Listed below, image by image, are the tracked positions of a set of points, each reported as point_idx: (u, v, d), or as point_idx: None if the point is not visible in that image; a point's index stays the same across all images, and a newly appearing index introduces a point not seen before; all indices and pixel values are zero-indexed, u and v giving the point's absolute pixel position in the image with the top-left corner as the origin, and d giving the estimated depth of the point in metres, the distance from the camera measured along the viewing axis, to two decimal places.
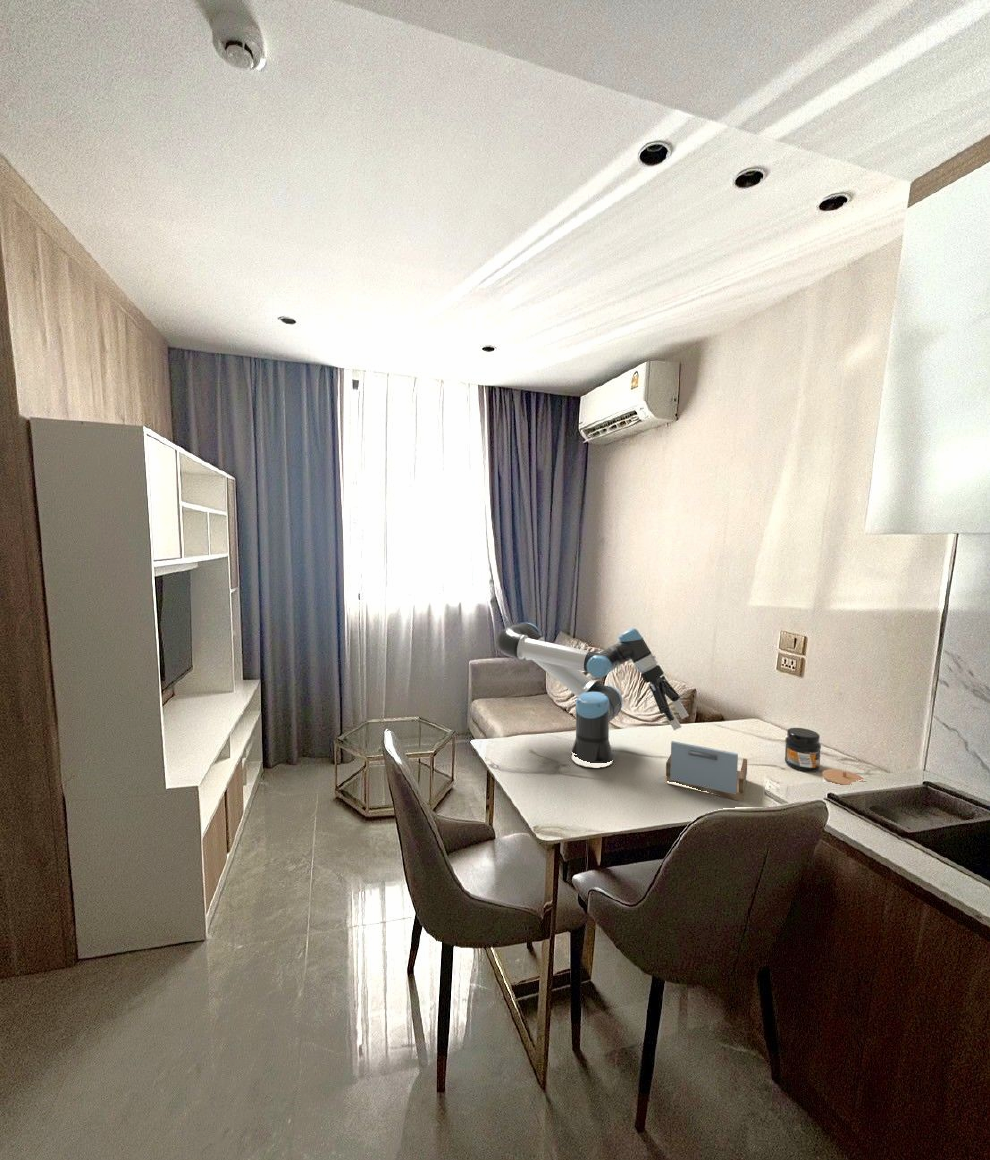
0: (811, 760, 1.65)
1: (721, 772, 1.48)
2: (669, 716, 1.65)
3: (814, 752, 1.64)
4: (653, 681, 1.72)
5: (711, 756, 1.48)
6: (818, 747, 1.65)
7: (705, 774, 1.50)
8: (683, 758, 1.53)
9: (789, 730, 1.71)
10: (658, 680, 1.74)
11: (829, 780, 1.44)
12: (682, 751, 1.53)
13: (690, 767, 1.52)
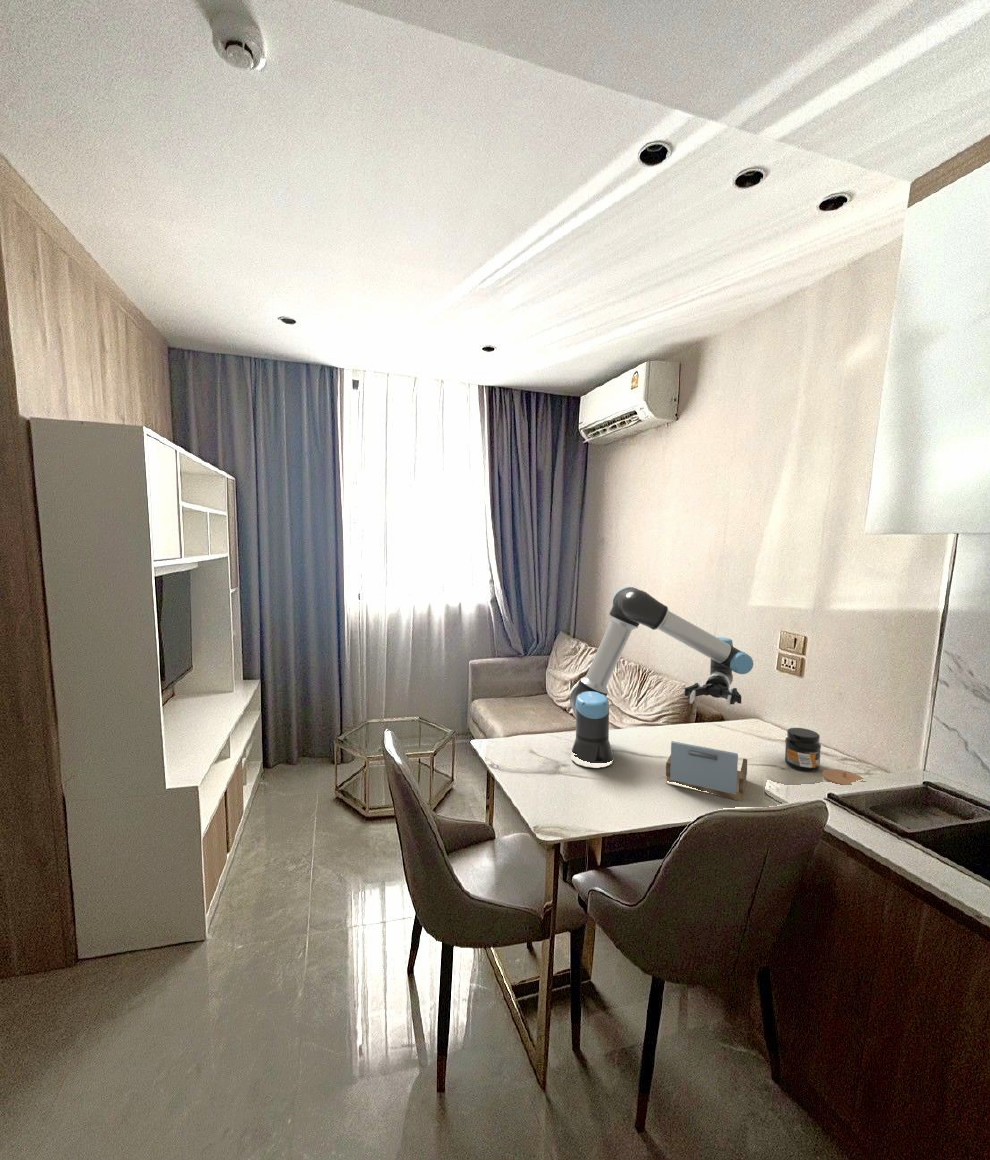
0: (811, 760, 1.65)
1: (721, 772, 1.48)
2: (734, 701, 1.59)
3: (814, 752, 1.64)
4: None
5: (711, 756, 1.48)
6: (818, 747, 1.65)
7: (705, 774, 1.50)
8: (683, 758, 1.53)
9: (789, 730, 1.71)
10: None
11: (829, 780, 1.44)
12: (682, 751, 1.53)
13: (690, 767, 1.52)
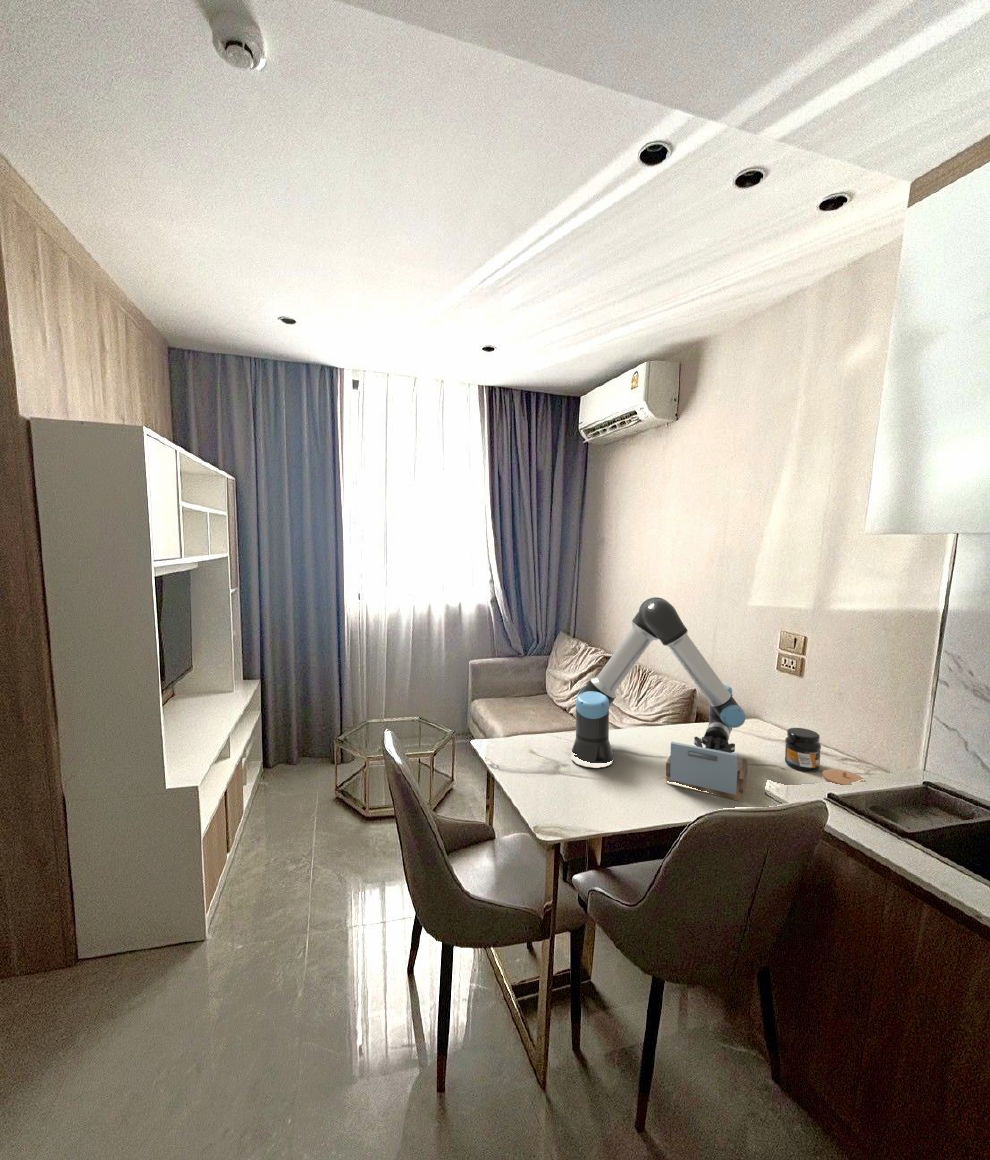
0: (811, 760, 1.65)
1: (721, 773, 1.47)
2: None
3: (814, 752, 1.64)
4: None
5: (711, 757, 1.48)
6: (818, 747, 1.65)
7: (705, 774, 1.50)
8: (683, 759, 1.53)
9: (789, 730, 1.71)
10: None
11: (829, 780, 1.44)
12: (682, 752, 1.53)
13: (690, 767, 1.52)
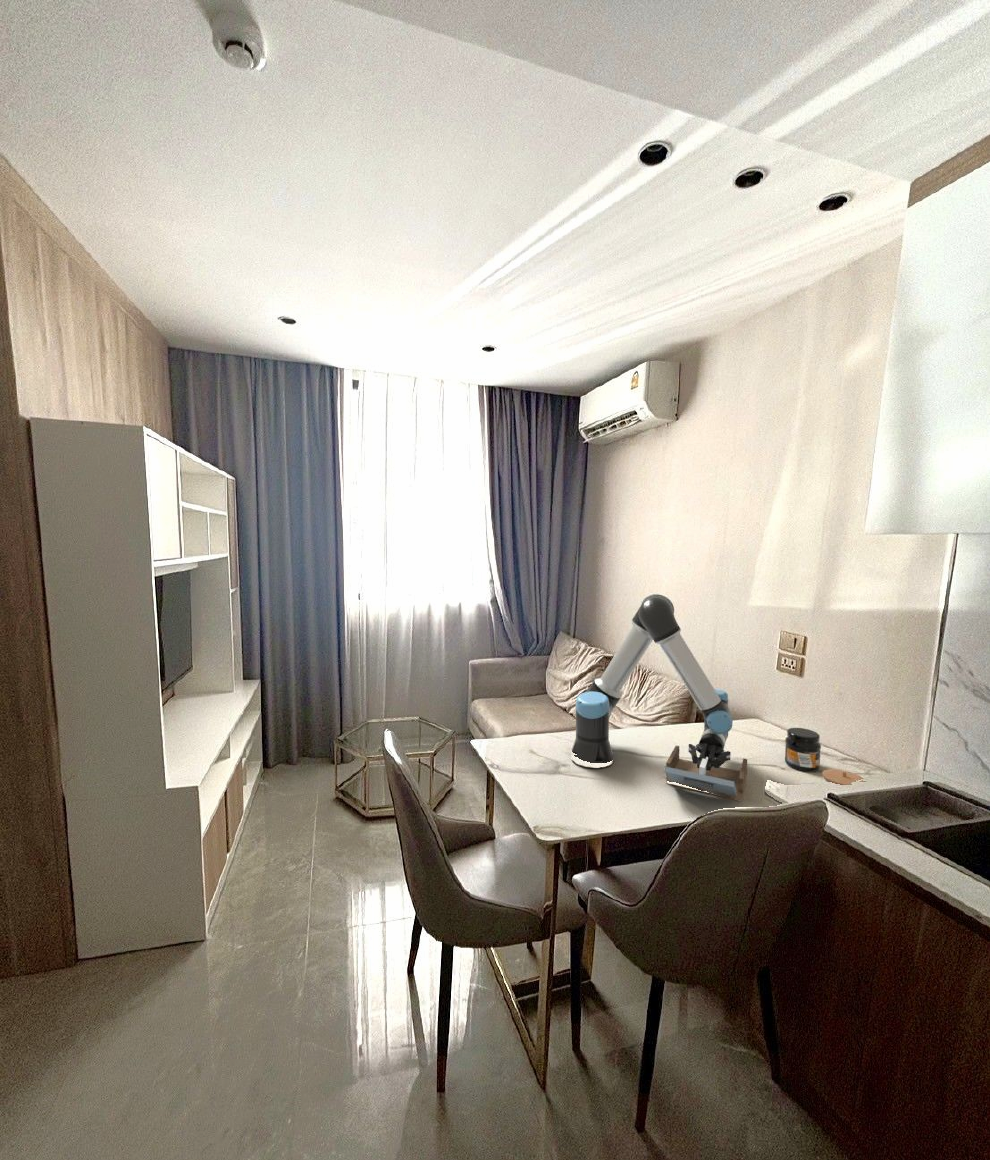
0: (811, 760, 1.65)
1: (719, 788, 1.44)
2: (710, 767, 1.48)
3: (814, 752, 1.64)
4: None
5: (707, 785, 1.42)
6: (818, 747, 1.65)
7: (703, 786, 1.47)
8: (679, 778, 1.48)
9: (789, 730, 1.71)
10: None
11: (829, 780, 1.44)
12: (677, 775, 1.47)
13: (687, 781, 1.49)
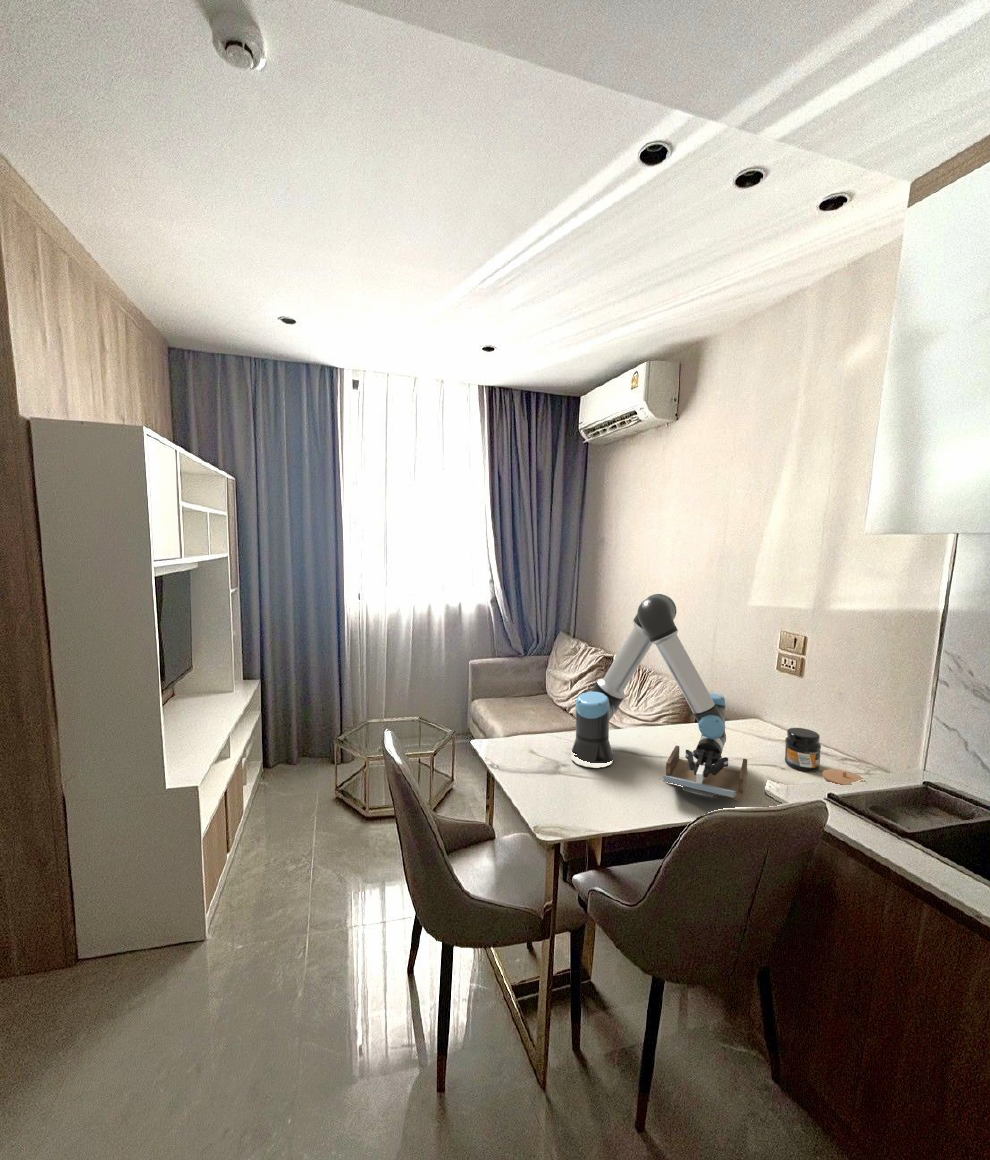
0: (811, 760, 1.65)
1: None
2: (708, 774, 1.45)
3: (814, 752, 1.64)
4: None
5: (706, 794, 1.41)
6: (818, 747, 1.65)
7: None
8: None
9: (789, 730, 1.71)
10: None
11: (829, 780, 1.44)
12: None
13: None
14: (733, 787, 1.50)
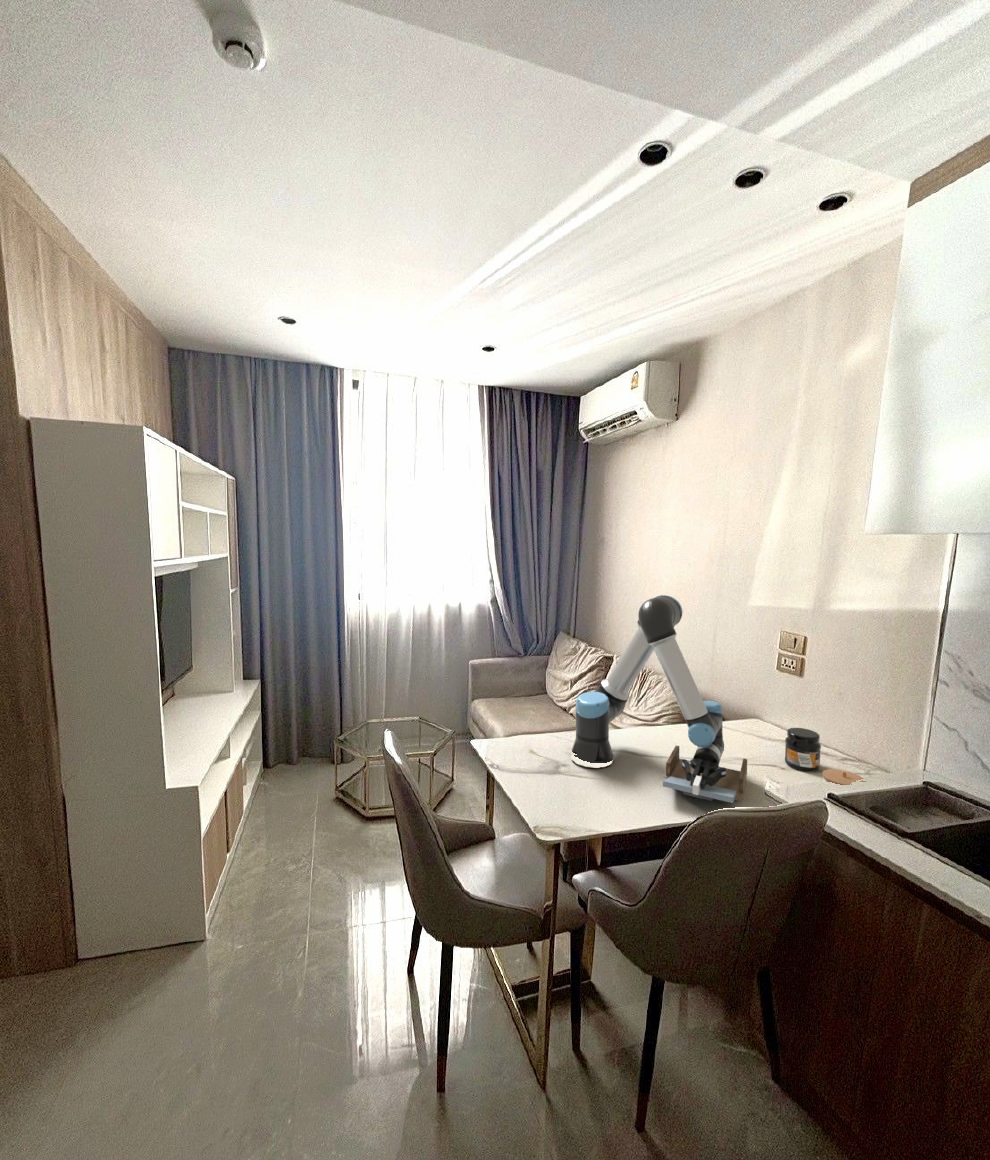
0: (811, 760, 1.65)
1: None
2: (704, 785, 1.41)
3: (814, 752, 1.64)
4: None
5: (706, 799, 1.41)
6: (818, 747, 1.65)
7: None
8: None
9: (789, 730, 1.71)
10: None
11: (829, 780, 1.44)
12: None
13: None
14: (733, 787, 1.50)
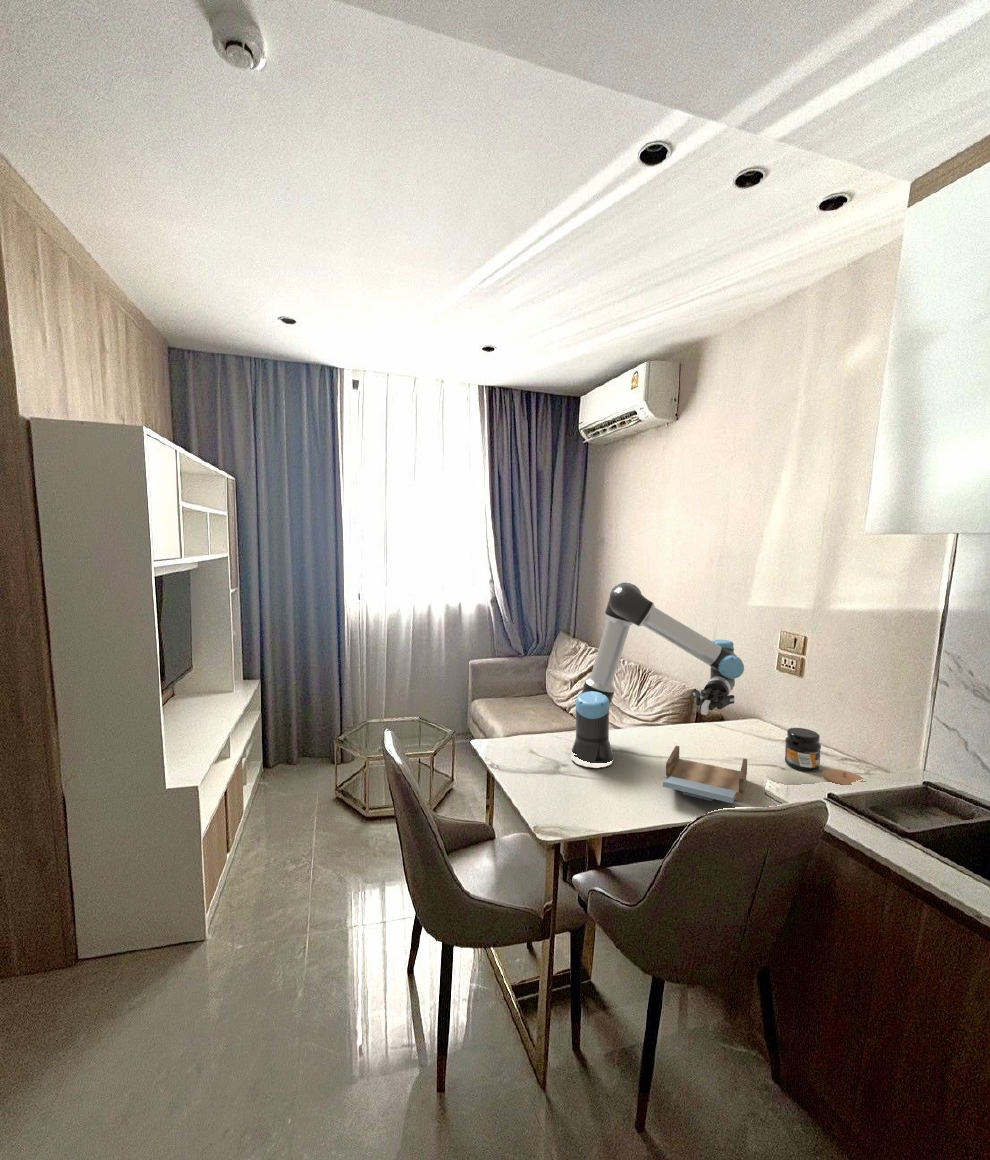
0: (811, 760, 1.65)
1: None
2: (713, 707, 1.51)
3: (814, 752, 1.64)
4: None
5: (706, 799, 1.41)
6: (818, 747, 1.65)
7: None
8: None
9: (789, 730, 1.71)
10: None
11: (829, 780, 1.44)
12: None
13: None
14: (733, 787, 1.50)
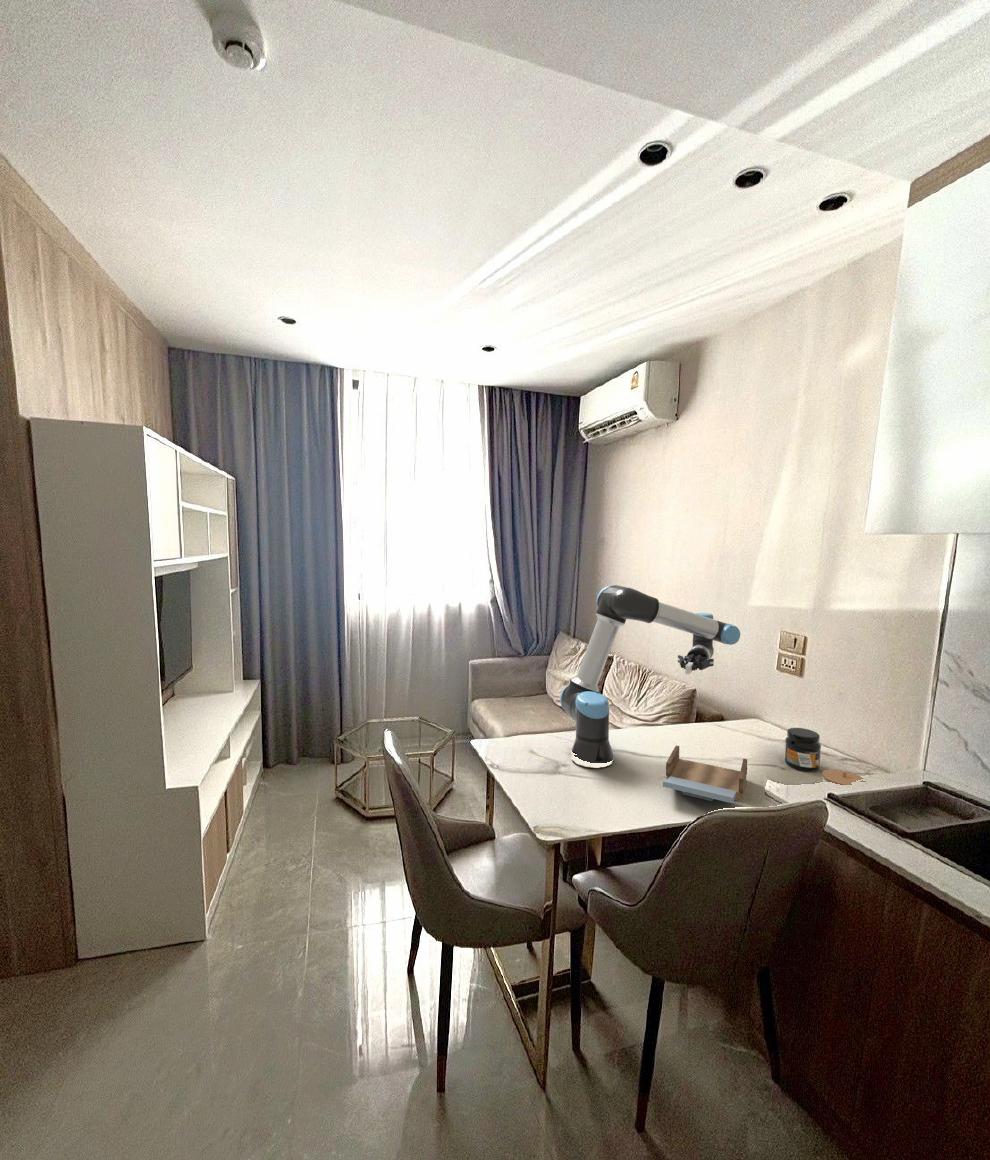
0: (811, 760, 1.65)
1: None
2: (695, 668, 1.72)
3: (814, 752, 1.64)
4: None
5: (706, 799, 1.41)
6: (818, 747, 1.65)
7: None
8: None
9: (789, 730, 1.71)
10: None
11: (829, 780, 1.44)
12: None
13: None
14: (733, 787, 1.50)
